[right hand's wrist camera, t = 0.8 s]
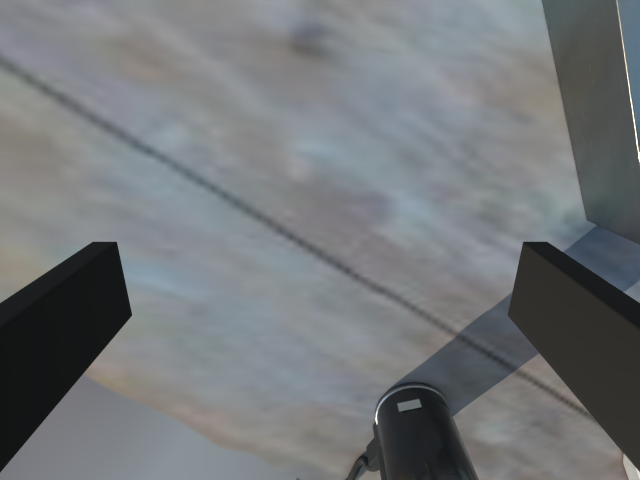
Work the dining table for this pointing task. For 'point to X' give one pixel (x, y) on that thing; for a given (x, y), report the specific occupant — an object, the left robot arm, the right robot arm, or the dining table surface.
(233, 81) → the dining table surface
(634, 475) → the wall clock
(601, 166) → the box
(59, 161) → the dining table surface
